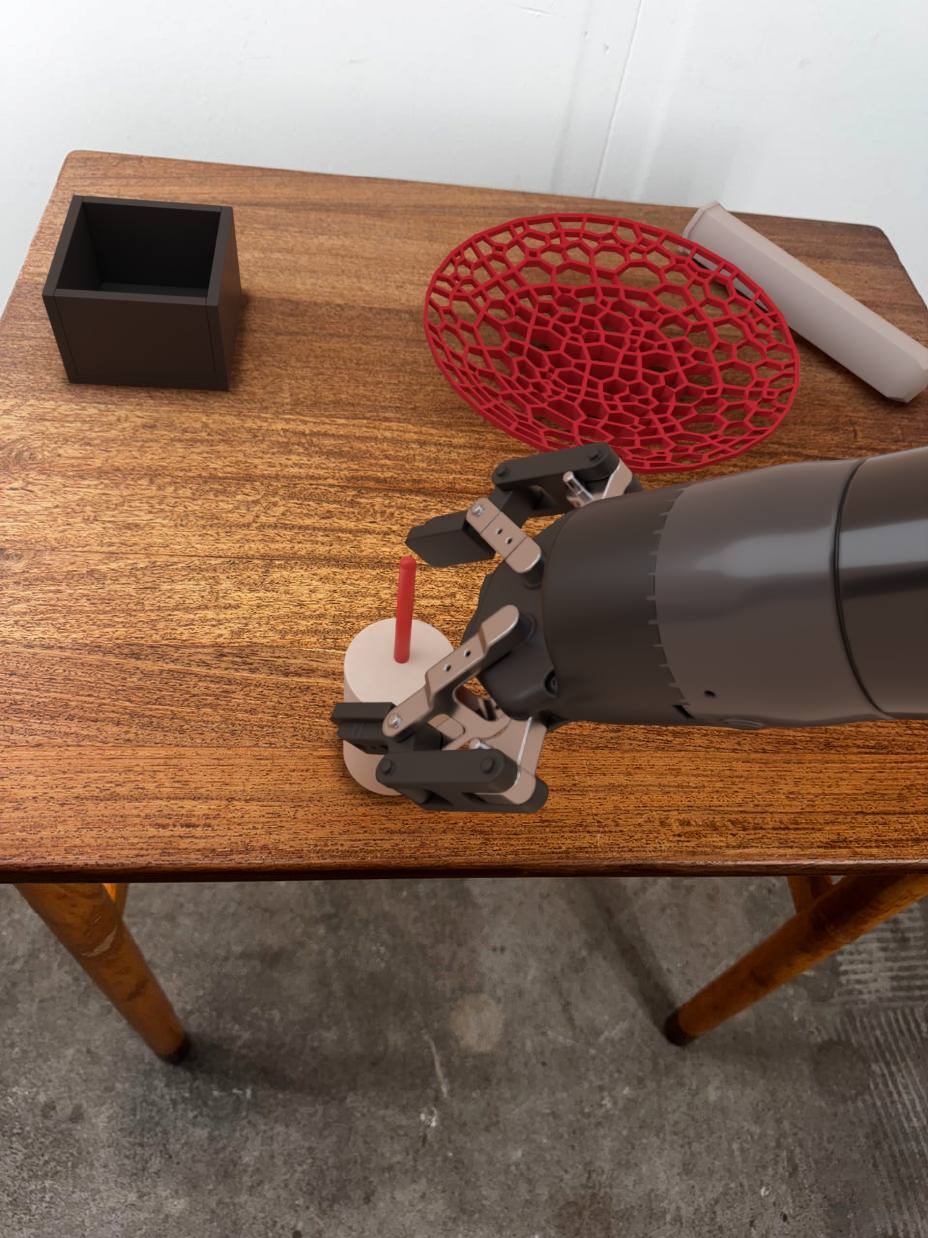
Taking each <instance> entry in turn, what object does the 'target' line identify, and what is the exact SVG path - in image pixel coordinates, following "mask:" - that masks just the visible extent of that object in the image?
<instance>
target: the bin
mask: <svg viewBox="0 0 928 1238" xmlns="http://www.w3.org/2000/svg"><path fill="white" fill-rule="evenodd" d="M234 214H235V213H234V207H233V206H231V205H220V204H208V203H207V204H206V203H205V204H204V203H192V202H191V203H190V202H179V201H178V202H177V201H164V200H151V199H137V198H136V199H135V198H124V197H110V196H109V197H108V196H97V195H96V196H95V195H82V194H73V195H72V197H71V200H70V203H69V207H68V209H67V212H66V216H65V220H64V222H63V226H62V229H61V232H60V234H59V238H58V241H57V244H56V248H55V251H54V253H53V257H52V260H51V263H50V267H49V269H48V272H47V276H46V279H45V282H44V285H43V288H42V292H41V296H40V297H41V298H42V302H43V305H44V308H45V311H46V314H47V317H48V320H49V323H50V327H51V329H52V334H53V336H54V339H55V342H56V345H57V349H58V352H59V356H60V358H61V362H62V364H63V367H64V371H65V374H66V378H67V381H68V383H69V384H82V385H100V386H102V385H104V386H120V387H121V386H123V387H141V388H143V387H144V388H164V389H180V390H181V389H184V390H201V391H202V390H203V391H221V392H222V391H223V392H224V391H225V392H229V391H230V387H231V377H232V372H233V371H232V370H233V362H234V356H235V347H236V340H237V333H238V332H237V331H238V325H239V324H238V323H239V317H240V310H241V309H240V308H241V301H242V293H243V291H242V283H241V272H240V262H239V253H238V243H237V235H236V225H235V215H234Z"/></svg>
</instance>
